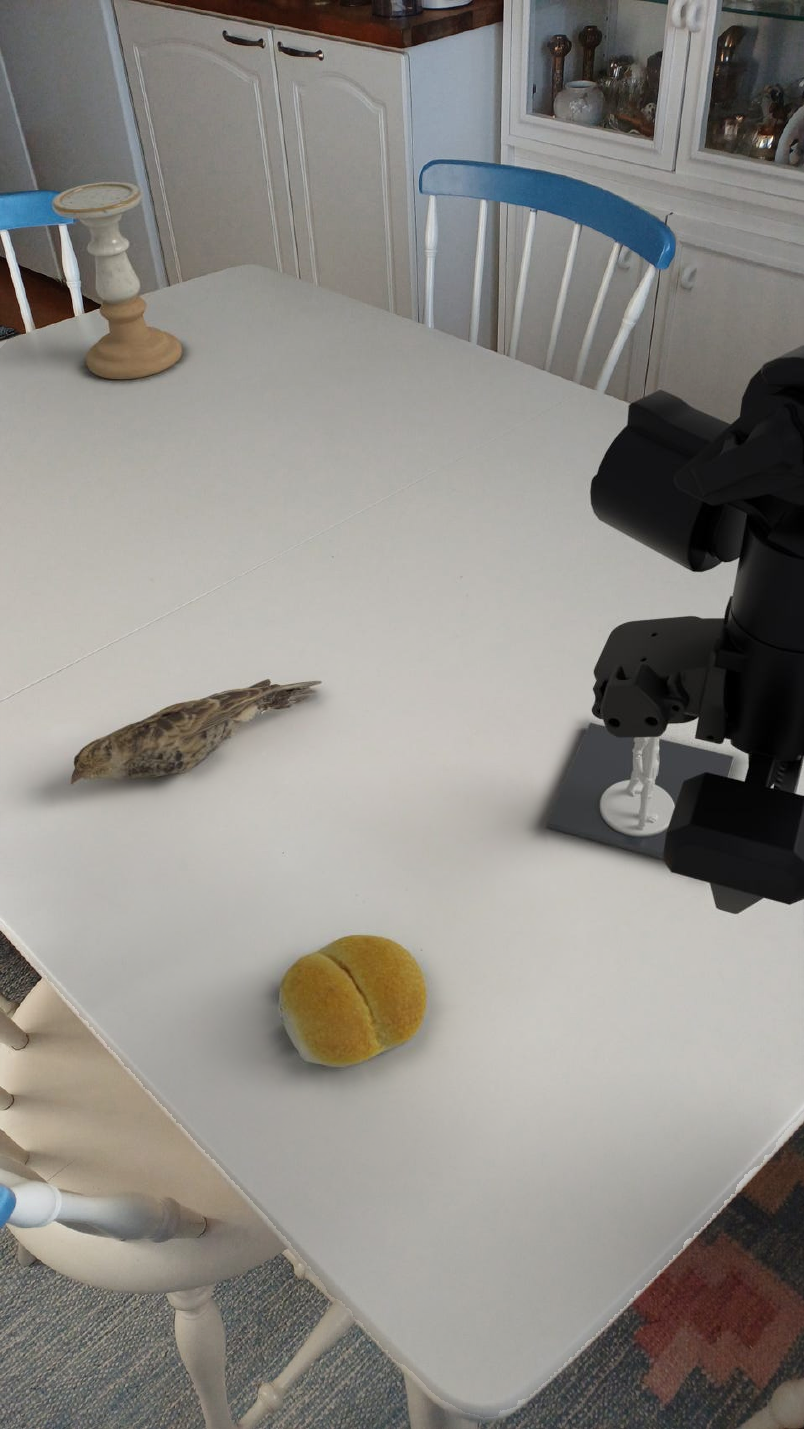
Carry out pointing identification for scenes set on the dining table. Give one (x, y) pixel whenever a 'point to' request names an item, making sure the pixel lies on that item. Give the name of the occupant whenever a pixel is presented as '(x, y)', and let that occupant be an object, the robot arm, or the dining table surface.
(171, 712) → the bird model
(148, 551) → the dining table surface
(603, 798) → the figurine
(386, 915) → the dining table surface
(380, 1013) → the bread roll
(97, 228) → the candle holder
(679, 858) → the robot arm
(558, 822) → the slate tile
